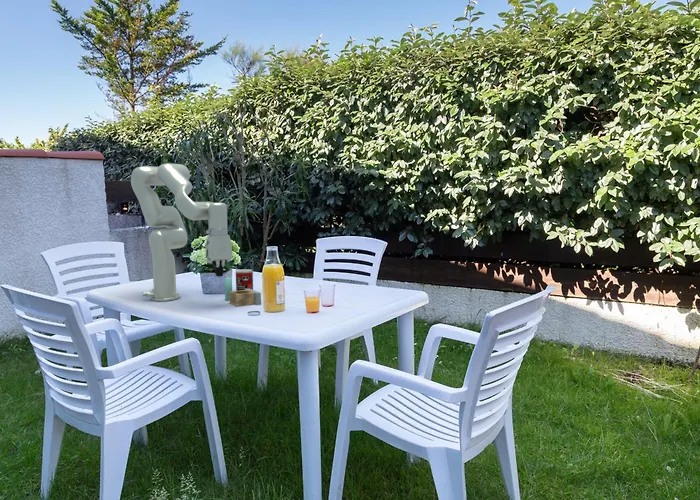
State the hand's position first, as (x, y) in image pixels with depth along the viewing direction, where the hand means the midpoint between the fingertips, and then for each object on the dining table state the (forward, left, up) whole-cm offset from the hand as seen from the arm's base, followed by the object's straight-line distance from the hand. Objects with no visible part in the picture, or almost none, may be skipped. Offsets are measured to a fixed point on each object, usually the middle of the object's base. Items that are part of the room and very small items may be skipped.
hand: (219, 276), depth 205 cm
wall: (+14, -1, -13) cm, 19 cm away
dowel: (+7, +9, -13) cm, 17 cm away
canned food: (+19, +19, -13) cm, 30 cm away
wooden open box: (+9, -1, -13) cm, 16 cm away
